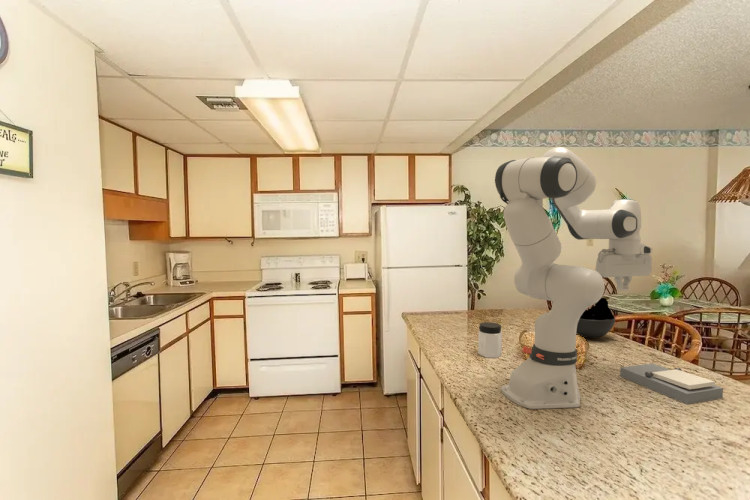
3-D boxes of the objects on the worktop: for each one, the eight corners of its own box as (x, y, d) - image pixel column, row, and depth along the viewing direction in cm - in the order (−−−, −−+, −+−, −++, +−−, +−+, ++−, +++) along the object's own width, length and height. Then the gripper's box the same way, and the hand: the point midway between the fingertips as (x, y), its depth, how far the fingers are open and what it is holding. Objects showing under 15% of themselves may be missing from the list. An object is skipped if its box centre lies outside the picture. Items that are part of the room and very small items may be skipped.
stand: (686, 404, 105) (687, 387, 105) (620, 376, 125) (620, 362, 125) (722, 398, 109) (723, 382, 109) (652, 371, 129) (652, 358, 129)
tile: (651, 372, 117) (651, 376, 117) (689, 385, 106) (689, 390, 106) (675, 369, 120) (675, 373, 120) (715, 381, 109) (715, 386, 109)
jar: (474, 352, 150) (474, 323, 149) (490, 350, 153) (490, 321, 153) (489, 359, 142) (489, 328, 141) (505, 356, 145) (506, 326, 144)
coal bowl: (620, 345, 158) (622, 301, 157) (568, 341, 165) (569, 299, 164) (607, 333, 177) (609, 293, 176) (561, 329, 184) (562, 291, 183)
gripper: (607, 249, 119) (606, 292, 119) (656, 248, 124) (655, 289, 125) (590, 248, 125) (589, 289, 125) (638, 247, 130) (637, 287, 131)
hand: (622, 289), depth 125 cm, fingers closed
